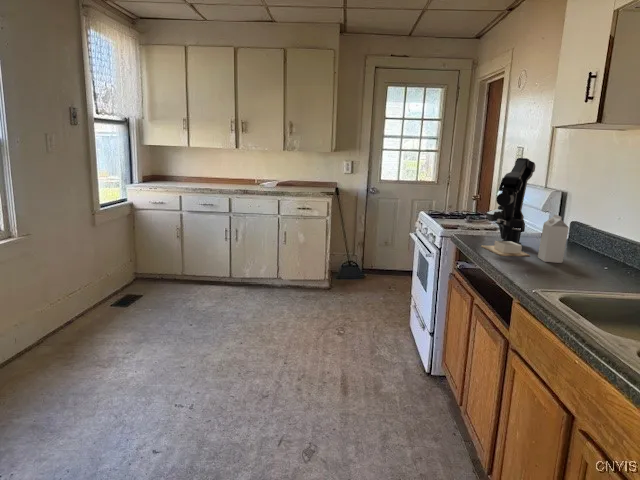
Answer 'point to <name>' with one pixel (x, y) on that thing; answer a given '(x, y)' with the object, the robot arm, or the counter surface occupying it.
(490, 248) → the mat
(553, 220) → the milk carton
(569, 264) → the counter surface
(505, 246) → the cream box
